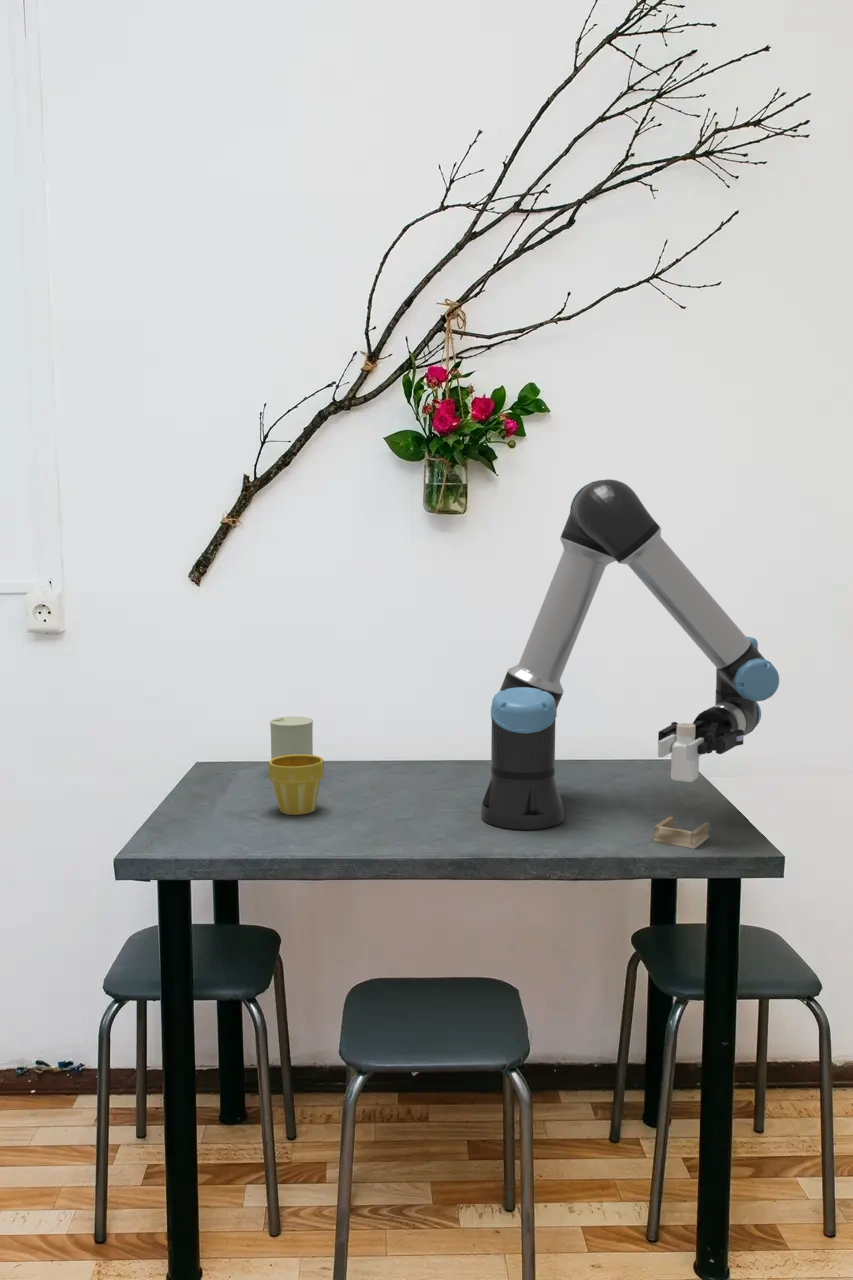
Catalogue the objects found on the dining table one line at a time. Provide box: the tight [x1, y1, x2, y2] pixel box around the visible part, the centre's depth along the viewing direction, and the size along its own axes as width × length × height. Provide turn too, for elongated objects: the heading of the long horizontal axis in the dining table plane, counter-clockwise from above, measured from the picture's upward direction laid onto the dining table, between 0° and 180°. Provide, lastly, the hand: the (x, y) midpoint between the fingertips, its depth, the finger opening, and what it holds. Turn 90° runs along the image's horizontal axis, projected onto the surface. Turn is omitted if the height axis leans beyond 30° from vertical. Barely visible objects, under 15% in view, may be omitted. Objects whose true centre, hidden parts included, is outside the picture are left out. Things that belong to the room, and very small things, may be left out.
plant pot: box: [268, 754, 325, 816], centre depth 201 cm, size 10×10×10 cm
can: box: [269, 716, 314, 760], centre depth 229 cm, size 9×9×12 cm
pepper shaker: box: [670, 722, 700, 783], centre depth 182 cm, size 4×4×10 cm
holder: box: [653, 816, 710, 850], centre depth 184 cm, size 7×7×3 cm
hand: (674, 751), depth 178 cm, fingers closed on pepper shaker, 4 cm apart
